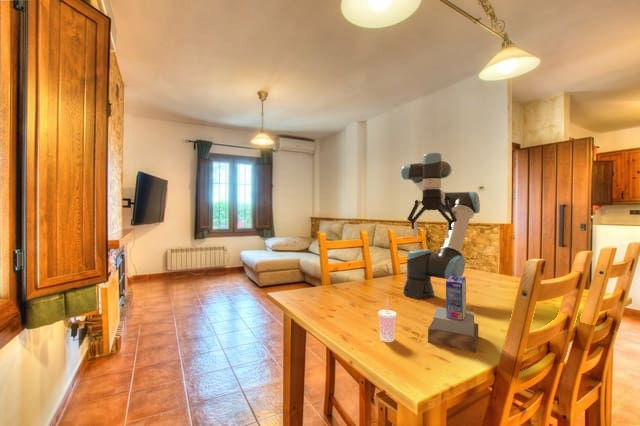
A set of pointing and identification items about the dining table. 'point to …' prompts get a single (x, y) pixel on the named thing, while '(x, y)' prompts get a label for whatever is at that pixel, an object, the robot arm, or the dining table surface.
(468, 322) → the grey top slab
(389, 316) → the beverage cup
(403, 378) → the dining table surface
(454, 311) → the ink cartridge box
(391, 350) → the dining table surface
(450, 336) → the walnut base slab
